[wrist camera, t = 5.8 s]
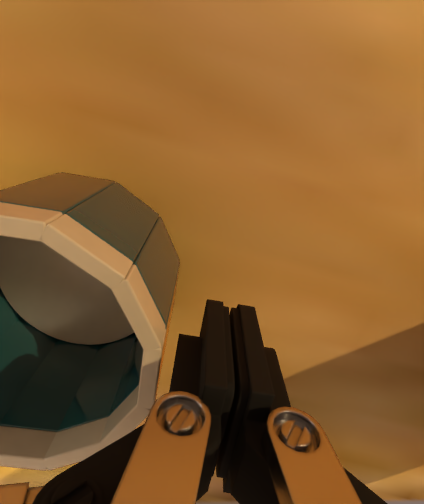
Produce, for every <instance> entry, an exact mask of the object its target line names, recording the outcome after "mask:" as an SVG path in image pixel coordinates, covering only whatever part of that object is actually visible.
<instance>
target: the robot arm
mask: <svg viewBox="0 0 424 504" xmlns="http://www.w3.org/2000/svg"><path fill="white" fill-rule="evenodd" d="M215 466H216V475H217V477H221V478H223V492H226V493H231V495H232V496H233V497H234V498H235V499H236V500H237V501H238V502H239V504H387V503H386V502H385V501H384V500H382V499H381V498H380V497H379V496H377V495H376V494H375V493H374V492H373V491H371V490H370V489H369V488H368V487H367V486H365V485H364V484H363V483H362V482H360V481H359V480H358V479H357V478H356V477H354V476H353V475H352V474H351V473H350V472H348V471H347V470H346V469H345V468H343V466H342V464H341V463H340V461H339V459H338V457H337V455H336V453H335V451H334V449H333V447H332V445H331V443H330V442H329V440H328V438H327V436H326V434H325V432H324V430H323V429H322V427H321V426H320V424H319V423H318V422H317V421H316V420H315V419H314V418H313V417H312V416H310V415H308V414H307V413H305V412H304V411H301V410H299V409H296V408H292V407H291V405H290V401H289V398H288V394H287V391H286V387H285V384H284V380H283V376H282V373H281V369H280V366H279V362H278V358H277V355H276V352H275V350H274V349H273V348H267V347H264V345H263V341H262V337H261V332H260V328H259V324H258V319H257V315H256V311H255V307H251V306H245V305H239V304H238V306H237V308H231V311H230V315H229V307H225V306H223V302H220V301H214V300H208V299H207V302H206V307H205V312H204V317H203V322H202V327H201V332H200V337H196V336H189V335H183V334H179V338H178V344H177V350H176V356H175V361H174V367H173V373H172V379H171V385H170V391H169V393H167V394H164V395H162V396H161V397H159V398H158V399H157V400H156V401H155V403H154V404H153V406H152V407H151V410H150V412H149V414H148V417H147V419H146V422H145V424H144V425H142V426H140V427H138V428H137V429H135V430H133V431H132V432H130V433H128V434H127V435H125V436H123V437H122V438H120V439H118V440H116V441H115V442H113V443H111V444H110V445H108V446H106V447H105V448H103V449H101V450H100V451H98V452H96V453H94V454H93V455H91V456H89V457H88V458H86V459H84V460H83V461H81V462H79V463H78V464H76V465H74V466H72V467H71V468H69V469H67V470H66V471H64V472H62V473H61V474H59V475H57V476H56V477H54V478H53V479H52V480H51V481H49V482H48V483H47V484H45V486H41V487H31V488H29V482H26V483H16V484H7V485H0V504H196V501H197V500H198V499H200V498H201V497H202V496H203V495H204V494H205V493H206V492H207V491H208V488H209V484H210V480H211V477H212V476H213V474H214V470H215Z"/></svg>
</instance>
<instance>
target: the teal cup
mask: <svg viewBox="0 0 424 504" xmlns="http://www.w3.org/2000/svg"><path fill="white" fill-rule="evenodd" d="M179 266H180V262H179V257H178V255H177V253H176V251H175V248H174V246H173V244H172V241H171V239H170V237H169V235H168V232H167V230H166V228H165V225H164V223H163V221H162V219H161V217H159V214H158V213H156V212H155V211H154V210H152V209H151V208H150V207H148V206H147V205H146V204H145V203H143V202H142V201H141V200H139V199H138V198H137V197H135V196H134V195H133V194H132V193H130V192H129V191H128V190H126V189H125V188H124V187H122V186H121V185H120V184H119V183H115V182H114V181H110V180H104V179H98V178H92V177H86V176H80V175H75V174H69V173H63V172H62V173H56V174H53V175H49V176H46V177H43V178H39V179H36V180H33V181H29V182H26V183H23V184H19V185H16V186H13V187H9V188H6V189H3V190H0V466H5V467H14V468H24V469H34V470H43V471H46V470H47V469H48V470H53V469H56V468H60V467H63V466H67V465H70V464H74V463H77V462H81V461H83V460H84V459H86V458H88V457H89V456H91V455H93V454H94V453H96V452H98V451H100V450H101V449H103V448H105V447H106V446H108V445H110V444H111V443H113V442H115V441H116V440H118V439H120V438H122V437H123V436H125V435H127V434H128V433H130V432H132V431H133V430H134V429H135V428H136V427H137V426H138V425H139V424H140V423H141V422H142V421H143V420H144V419H145V418H146V417H147V416H148V414H149V412H150V410H151V407H152V406H153V404H154V403H155V400H156V395H157V390H158V384H159V379H160V374H161V369H162V363H163V358H164V353H165V348H166V342H167V337H168V332H169V326H170V321H171V316H172V311H173V305H174V299H175V293H176V286H177V279H178V273H179Z"/></svg>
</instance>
